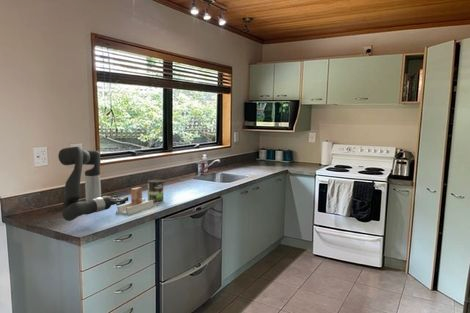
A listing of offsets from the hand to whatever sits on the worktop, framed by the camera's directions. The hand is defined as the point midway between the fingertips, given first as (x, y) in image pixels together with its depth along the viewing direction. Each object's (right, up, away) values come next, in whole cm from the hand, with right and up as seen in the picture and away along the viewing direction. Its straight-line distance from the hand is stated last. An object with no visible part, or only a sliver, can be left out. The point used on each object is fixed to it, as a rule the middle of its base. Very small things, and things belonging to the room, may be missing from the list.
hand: (122, 197), depth 197 cm
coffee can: (+12, -6, +30) cm, 33 cm away
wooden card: (+5, -7, +11) cm, 14 cm away
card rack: (+5, -8, +11) cm, 14 cm away
